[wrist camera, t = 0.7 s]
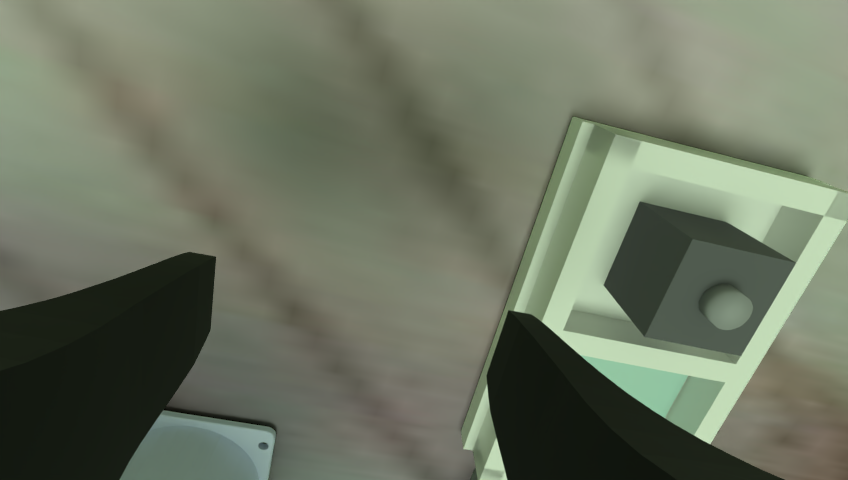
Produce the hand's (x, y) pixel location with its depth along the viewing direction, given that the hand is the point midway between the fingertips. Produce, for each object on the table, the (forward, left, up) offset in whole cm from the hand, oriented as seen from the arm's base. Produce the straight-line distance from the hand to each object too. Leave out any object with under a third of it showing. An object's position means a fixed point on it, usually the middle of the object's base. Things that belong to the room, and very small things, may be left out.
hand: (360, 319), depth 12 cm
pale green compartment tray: (-3, -12, -10) cm, 16 cm away
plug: (+1, -13, -9) cm, 15 cm away
